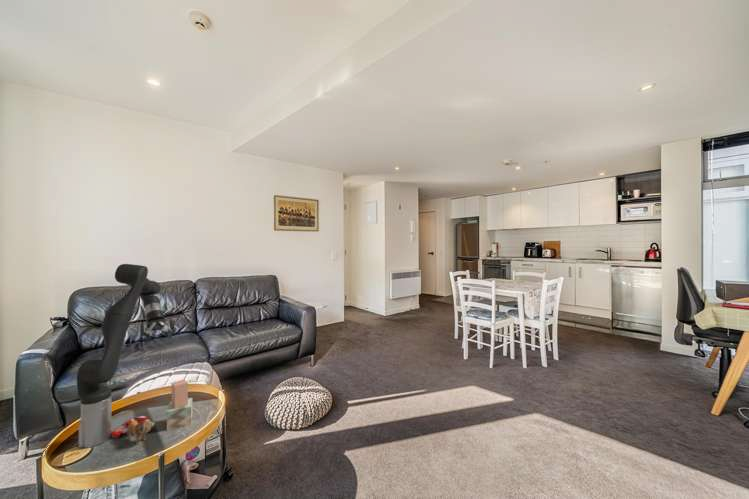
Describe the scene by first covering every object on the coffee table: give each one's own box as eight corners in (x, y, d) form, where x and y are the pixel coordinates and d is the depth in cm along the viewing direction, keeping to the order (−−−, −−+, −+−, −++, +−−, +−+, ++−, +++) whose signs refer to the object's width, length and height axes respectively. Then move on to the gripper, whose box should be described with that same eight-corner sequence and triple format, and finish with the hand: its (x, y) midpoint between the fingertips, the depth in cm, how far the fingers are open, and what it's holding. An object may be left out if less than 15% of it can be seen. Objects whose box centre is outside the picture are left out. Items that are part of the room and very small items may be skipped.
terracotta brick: (174, 408, 131) (174, 386, 131) (171, 404, 134) (171, 382, 134) (187, 404, 135) (187, 382, 135) (184, 400, 138) (184, 379, 138)
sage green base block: (166, 430, 128) (166, 411, 128) (169, 419, 136) (169, 402, 136) (191, 424, 133) (191, 406, 133) (192, 414, 141) (192, 397, 141)
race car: (115, 441, 121) (114, 431, 121) (107, 437, 124) (107, 428, 124) (150, 423, 133) (150, 415, 133) (143, 420, 136) (143, 412, 136)
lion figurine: (156, 438, 123) (156, 417, 123) (143, 447, 118) (143, 424, 118) (131, 432, 127) (131, 411, 127) (117, 439, 122) (117, 418, 122)
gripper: (138, 311, 150) (143, 338, 143) (171, 307, 161) (177, 332, 153) (136, 320, 154) (141, 347, 146) (168, 315, 164) (174, 340, 157)
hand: (160, 339), depth 150 cm, fingers open, 8 cm apart
